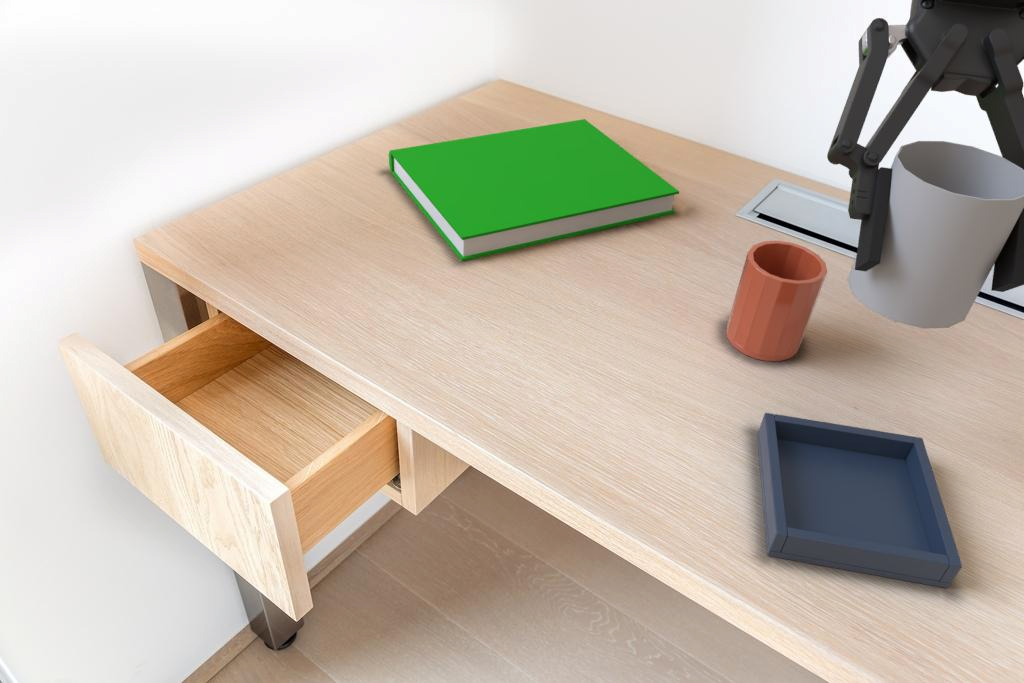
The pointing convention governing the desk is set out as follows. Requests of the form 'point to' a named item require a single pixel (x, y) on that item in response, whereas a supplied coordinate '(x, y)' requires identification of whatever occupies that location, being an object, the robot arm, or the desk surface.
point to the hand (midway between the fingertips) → (936, 276)
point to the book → (528, 187)
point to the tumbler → (775, 300)
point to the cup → (940, 232)
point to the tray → (853, 501)
